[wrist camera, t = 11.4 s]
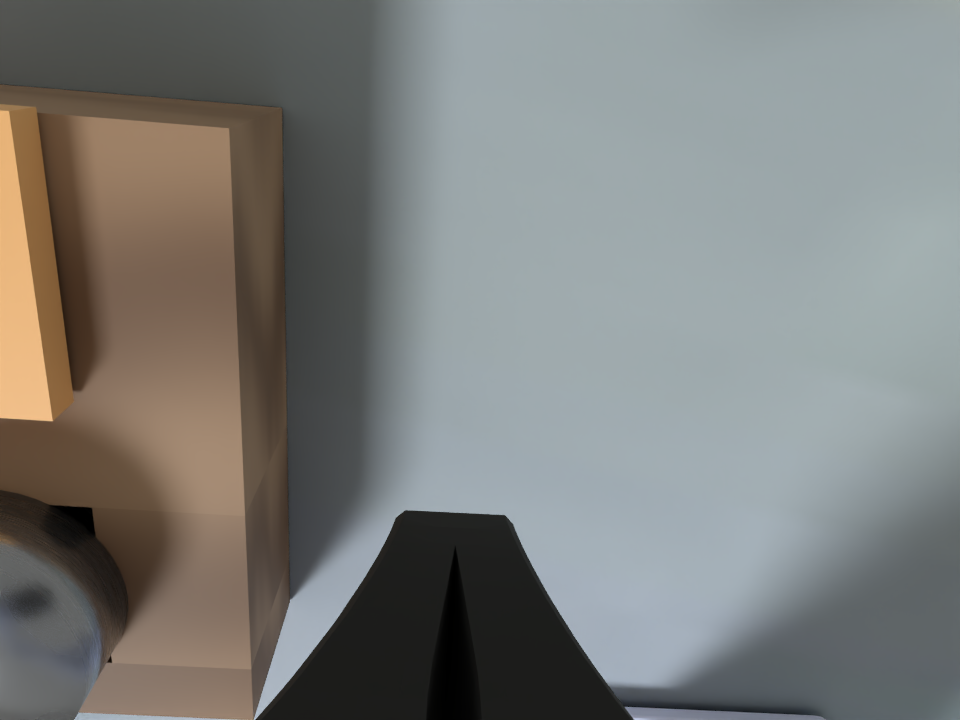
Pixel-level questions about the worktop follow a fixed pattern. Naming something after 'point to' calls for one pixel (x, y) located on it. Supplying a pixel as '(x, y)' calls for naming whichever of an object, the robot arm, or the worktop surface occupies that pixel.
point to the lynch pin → (54, 608)
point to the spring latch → (28, 279)
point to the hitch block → (170, 385)
